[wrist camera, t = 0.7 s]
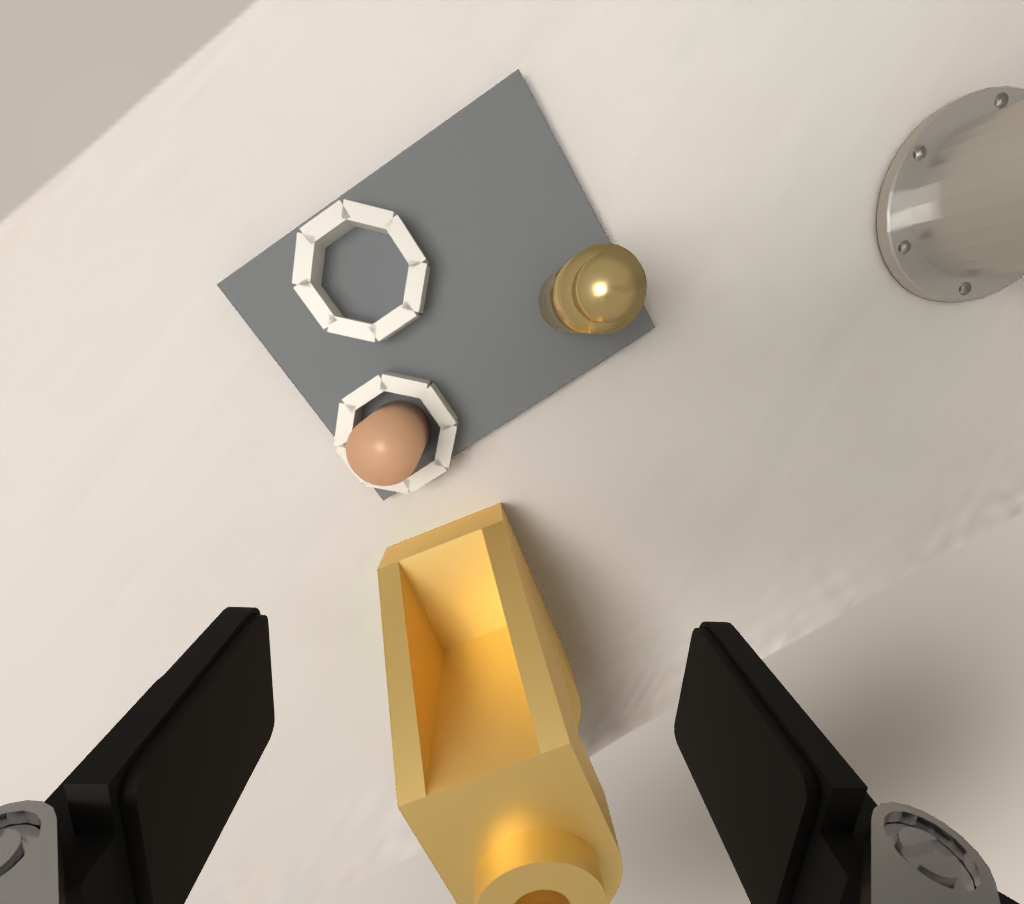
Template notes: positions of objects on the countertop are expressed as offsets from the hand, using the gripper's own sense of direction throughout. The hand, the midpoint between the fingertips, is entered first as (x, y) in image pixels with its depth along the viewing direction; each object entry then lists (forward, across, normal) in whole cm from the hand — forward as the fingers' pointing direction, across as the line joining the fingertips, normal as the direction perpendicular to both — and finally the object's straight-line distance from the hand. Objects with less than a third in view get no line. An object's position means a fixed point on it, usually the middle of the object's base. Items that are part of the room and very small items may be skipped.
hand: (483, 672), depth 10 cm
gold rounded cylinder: (+23, -5, -9) cm, 25 cm away
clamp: (+24, -2, +16) cm, 29 cm away
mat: (+24, +3, -8) cm, 26 cm away
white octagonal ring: (+23, +8, -10) cm, 26 cm away
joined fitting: (+23, +6, 0) cm, 24 cm away
